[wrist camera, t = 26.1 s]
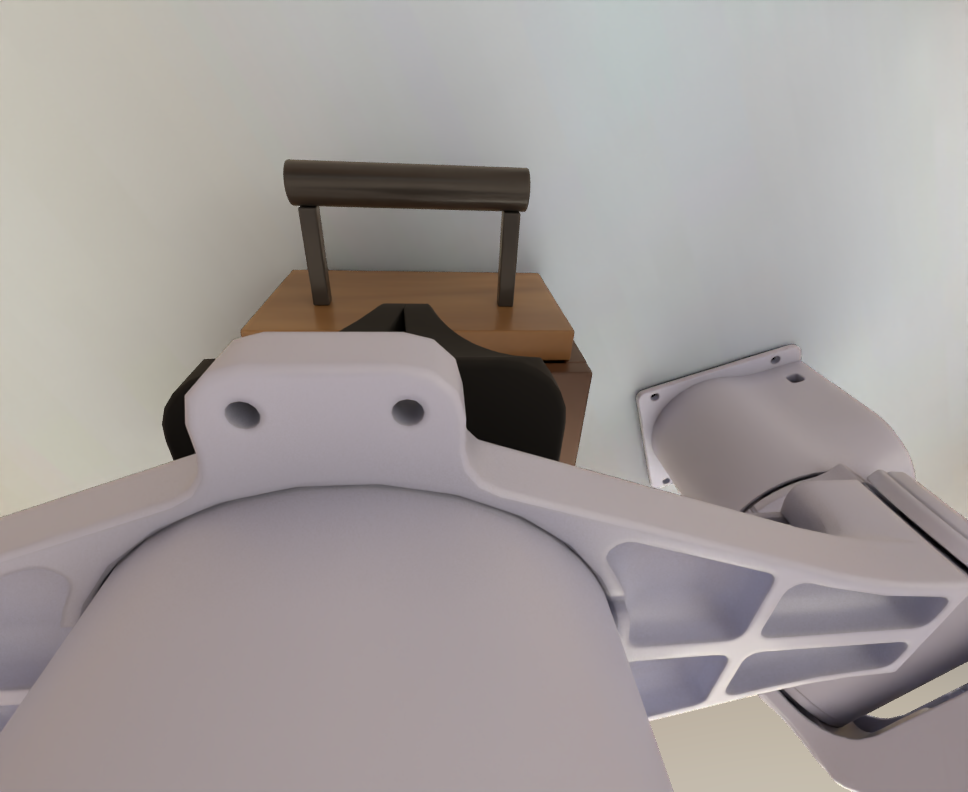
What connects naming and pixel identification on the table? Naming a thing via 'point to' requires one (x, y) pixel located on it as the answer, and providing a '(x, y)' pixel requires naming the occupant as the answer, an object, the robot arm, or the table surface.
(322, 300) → the drawer
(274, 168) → the table surface
